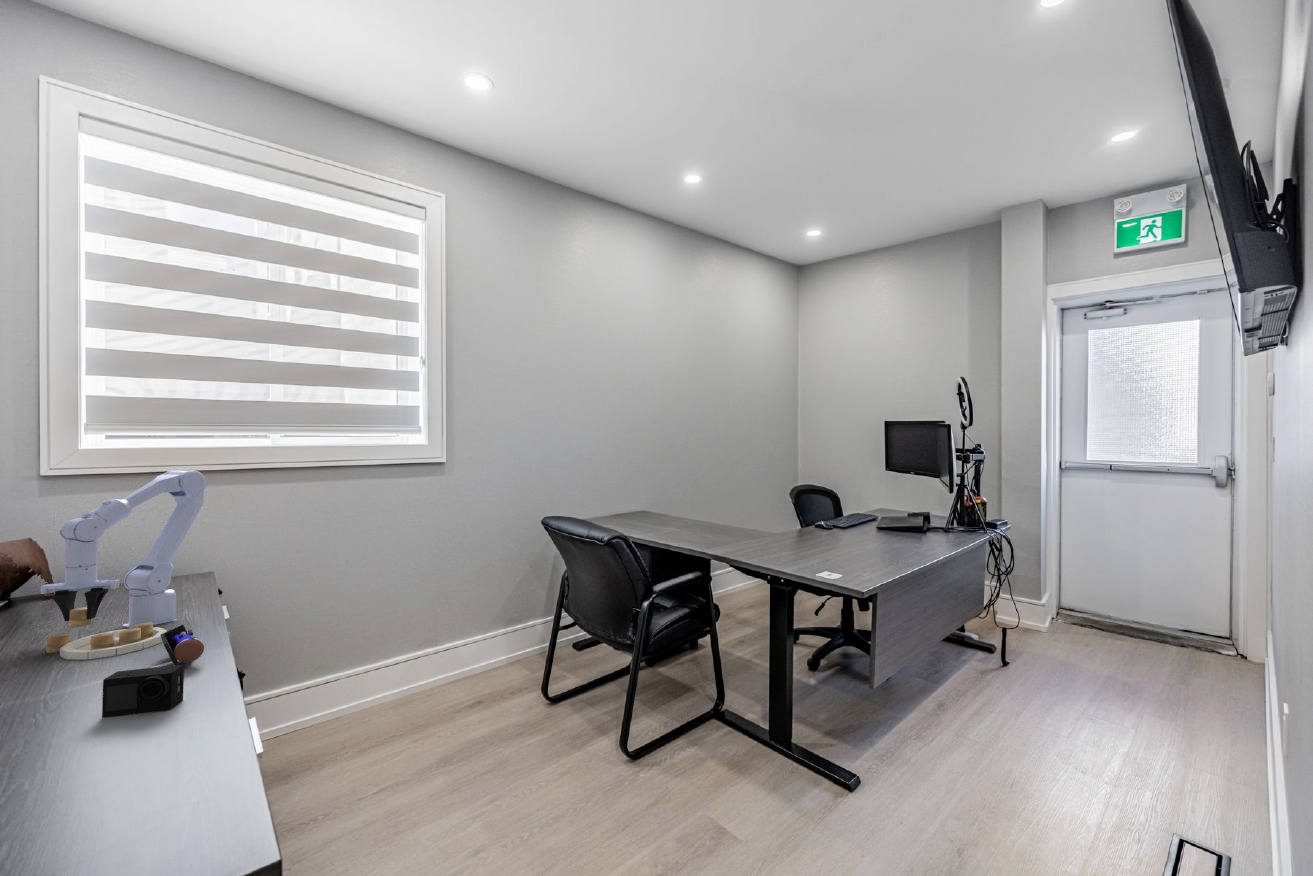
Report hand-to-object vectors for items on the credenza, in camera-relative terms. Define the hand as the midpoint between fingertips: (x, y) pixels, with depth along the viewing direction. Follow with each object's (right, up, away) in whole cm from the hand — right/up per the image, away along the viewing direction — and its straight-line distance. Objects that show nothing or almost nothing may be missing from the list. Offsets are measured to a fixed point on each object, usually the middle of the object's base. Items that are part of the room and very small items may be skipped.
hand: (80, 619), depth 138 cm
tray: (+14, -6, -5) cm, 15 cm away
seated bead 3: (+17, -5, -1) cm, 18 cm away
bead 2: (0, -2, 0) cm, 2 cm away
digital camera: (+51, -5, -37) cm, 63 cm away
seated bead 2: (+18, -5, -6) cm, 20 cm away
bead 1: (+3, -6, -8) cm, 10 cm away
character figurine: (+38, -6, -14) cm, 41 cm away
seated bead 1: (+15, -5, -9) cm, 18 cm away
